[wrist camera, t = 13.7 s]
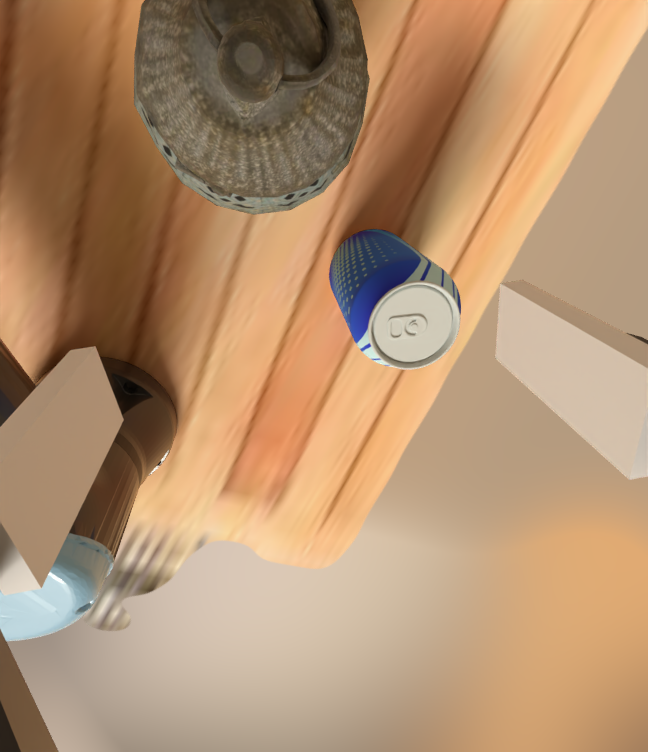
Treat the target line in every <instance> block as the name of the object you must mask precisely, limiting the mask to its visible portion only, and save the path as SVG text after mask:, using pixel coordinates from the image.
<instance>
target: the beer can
mask: <svg viewBox="0 0 648 752" xmlns="http://www.w3.org/2000/svg"><path fill="white" fill-rule="evenodd" d="M329 278H330V285H331V288H332V291H333V293H334V295H335V298H336V300H337V302H338V304H339V307H340V309H341V311H342V313H343V316H344V318H345V320H346V322H347V325H348V327H349V329H350V332H351V334H352V336H353V338H354V341H355V342H356V344H357V346H358V347H359V348H360V350H361V351H362V352H363V353H364V354H365V355H366V356H367V357H369V358H370V359H372V360H373V361H375V362H377V363H379V364H382V365H385V366H390V367H395V368H399V369H418V368H422V367H425V366H428V365H430V364H432V363H434V362H435V361H437V360H438V359H440V358H441V357H442V356H443V355H444V354H445V353H446V352H447V351H448V350H449V349H450V348H451V346H452V345H453V343H454V341H455V339H456V337H457V335H458V332H459V327H460V313H461V302H460V296H459V292H458V289H457V287H456V285H455V283H454V281H453V280H452V279H451V277H450V276H449V275H448V274H447V273H446V272H445V271H444V270H443V269H442V268H440V267H439V266H438V265H436V264H435V263H433V262H432V261H431V260H429V259H428V258H427V257H425V256H424V255H422V254H421V253H420V252H418V251H417V250H416V249H414V248H413V247H411V246H410V245H409V244H407V243H406V242H405V241H403V240H402V239H401V238H399V237H398V236H396V235H395V234H393V233H391V232H388V231H385V230H379V229H370V230H365V231H361V232H358V233H356V234H354V235H352V236H351V237H349V238H348V239H347V240H345V241H344V242H343V243H342V244H341V245H340V247H339V248H338V249H337V251H336V253H335V254H334V256H333V259H332V262H331V265H330V272H329Z"/></svg>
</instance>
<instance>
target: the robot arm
mask: <svg viewBox="0 0 648 752" xmlns="http://www.w3.org/2000/svg"><path fill="white" fill-rule="evenodd" d="M495 359H497V360H498V361H499V362H500V363H501V364H502V365H503V366H504V367H505V368H507V369H508V370H509V371H510V372H511V373H512V374H513V375H514V376H515V377H517V378H518V379H519V380H520V381H521V382H522V383H523V384H524V385H525V386H526V387H527V388H529V389H530V390H531V391H532V392H533V393H534V394H535V395H536V396H537V397H539V398H540V399H541V400H542V401H543V402H544V403H545V404H546V405H547V406H548V407H550V408H551V409H552V410H553V411H554V412H555V413H556V414H557V415H558V416H560V417H561V418H562V419H563V420H564V421H565V422H566V423H567V424H568V425H569V426H570V427H572V428H573V429H574V430H575V431H576V432H577V433H578V434H579V435H580V436H582V437H583V438H584V439H585V440H586V441H587V442H588V443H589V444H591V446H593V447H594V448H595V449H596V450H597V451H598V452H599V453H600V454H601V455H602V456H604V457H605V458H606V459H607V460H608V461H609V462H610V463H611V464H612V465H613V466H615V467H616V468H617V469H618V470H619V471H620V472H621V473H623V475H625V476H626V477H627V478H628V479H629V480H631V479H636V478H641V477H647V476H648V340H646V339H644V338H642V337H639V336H635V335H632V334H628V333H625V332H623V331H621V330H619V329H617V328H615V327H613V326H611V325H609V324H607V323H605V322H603V321H601V320H600V319H598V318H596V317H594V316H592V315H590V314H588V313H586V312H584V311H582V310H580V309H578V308H576V307H574V306H572V305H570V304H569V303H566V302H565V301H563V300H560V299H559V298H557V297H555V296H553V295H551V294H549V293H547V292H545V291H543V290H541V289H539V288H537V287H536V286H534V285H532V284H530V283H528V282H526V281H524V280H519V281H512V282H506V283H500V296H499V311H498V328H497V341H496V356H495ZM176 429H177V417H176V412H175V408H174V406H173V403H172V401H171V399H170V397H169V396H168V394H167V392H166V391H165V390H164V389H163V387H162V386H161V385H160V384H159V383H158V382H157V381H156V380H155V379H154V378H152V377H151V376H150V375H149V374H147V373H146V372H144V371H142V370H141V369H139V368H137V367H135V366H133V365H131V364H128V363H126V362H123V361H119V360H116V359H111V358H105V357H99V354H98V352H97V349H96V346H94V347H87V348H81V349H74V350H70V351H69V352H68V353H67V354H66V355H65V357H64V358H63V359H62V360H61V361H60V362H59V363H58V364H57V365H56V366H55V367H53V368H52V369H50V370H49V371H48V372H47V373H45V374H44V375H43V376H42V378H41V379H40V380H39V381H38V382H37V383H36V384H34V383H33V382H32V380H31V379H30V378H29V376H28V375H27V374H26V372H25V371H24V370H23V368H22V367H21V365H20V364H19V363H18V361H17V360H16V359H15V357H14V356H13V355H12V353H11V352H10V351H9V349H8V348H7V347H6V345H5V344H4V343H3V341H2V340H1V339H0V752H58V750H57V748H56V745H55V743H54V741H53V739H52V737H51V735H50V733H49V731H48V729H47V726H46V725H45V722H44V720H43V718H42V716H41V714H40V712H39V710H38V708H37V705H36V703H35V701H34V699H33V697H32V695H31V693H30V691H29V688H28V686H27V684H26V683H25V680H24V678H23V676H22V674H21V672H20V669H19V667H18V665H17V663H16V661H15V659H14V657H13V655H12V653H11V650H10V648H9V646H8V644H7V642H6V641H16V640H25V639H31V638H36V637H40V636H44V635H48V634H51V633H54V632H56V631H59V630H61V629H63V628H65V627H67V626H69V625H71V624H73V623H74V622H76V621H77V620H78V619H79V618H81V617H82V616H83V615H84V614H85V613H86V612H87V611H88V610H89V609H90V608H91V607H92V605H93V604H94V602H95V601H96V599H97V597H98V595H99V592H100V590H101V588H102V586H103V583H104V581H105V579H106V577H107V576H108V575H109V574H110V572H111V570H112V568H113V565H114V560H115V557H116V554H117V551H118V548H119V545H120V542H121V539H122V536H123V533H124V531H125V528H126V525H127V522H128V519H129V516H130V513H131V510H132V507H133V504H134V501H135V498H136V495H137V492H138V489H139V487H140V485H141V484H142V483H143V482H144V481H145V479H146V478H147V476H149V475H150V474H151V473H153V472H154V471H155V470H156V469H157V468H158V467H159V466H160V465H161V464H162V463H163V462H164V460H165V459H166V457H167V456H168V454H169V452H170V450H171V447H172V444H173V441H174V438H175V434H176Z"/></svg>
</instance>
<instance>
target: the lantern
mask: <svg viewBox="0 0 648 752" xmlns="http://www.w3.org/2000/svg"><path fill="white" fill-rule="evenodd" d="M367 61H368V59H367V55H366V50H365V45H364V40H363V36H362V31H361V26H360V22H359V17H358V14H357V12H356V10H355V7H354V5H353V2H352V0H145V1H144V2H143V4H142V6H141V13H140V20H139V27H138V35H137V42H136V49H135V64H134V105H135V107H136V109H137V111H138V112H139V114H140V116H141V118H142V120H143V122H144V124H145V126H146V128H147V130H148V131H149V133H150V135H151V137H152V139H153V141H154V143H155V145H156V147H157V148H158V150H159V151H160V152H161V154H162V155H163V157H164V158H165V159H166V161H167V162H168V164H169V165H170V166H171V168H172V169H173V171H174V172H175V174H176V175H177V176H178V178H179V179H180V181H181V182H182V183H183V184H184V185H186V186H188V187H189V188H191V189H192V190H194V191H195V192H197V193H198V194H200V195H201V196H203V197H204V198H206V199H208V200H209V201H211V202H212V203H214V204H215V205H217V206H221V207H225V208H229V209H233V210H237V211H242V212H246V213H250V214H262V213H270V212H278V211H286V210H291V209H293V208H295V207H297V206H299V205H300V204H302V203H304V202H306V201H308V200H310V199H312V198H314V197H315V196H317V195H319V194H321V193H323V192H324V190H325V189H326V188H327V187H328V186H329V185H330V184H331V183H332V181H333V180H334V179H335V178H336V177H337V176H338V175H339V174H340V172H341V171H342V170H343V169H344V168H345V167H346V166H347V165H348V163H349V161H350V158H351V155H352V152H353V149H354V146H355V144H356V141H357V138H358V135H359V132H360V129H361V127H362V124H363V117H364V111H365V105H366V98H367V92H368V86H369V79H370V78H369V75H368V71H367Z"/></svg>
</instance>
